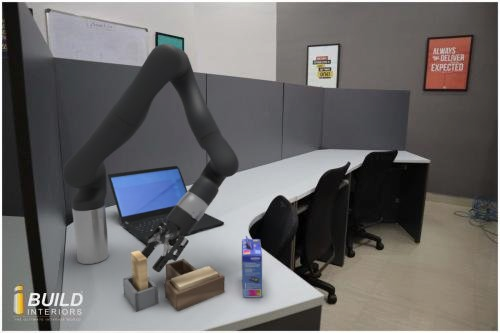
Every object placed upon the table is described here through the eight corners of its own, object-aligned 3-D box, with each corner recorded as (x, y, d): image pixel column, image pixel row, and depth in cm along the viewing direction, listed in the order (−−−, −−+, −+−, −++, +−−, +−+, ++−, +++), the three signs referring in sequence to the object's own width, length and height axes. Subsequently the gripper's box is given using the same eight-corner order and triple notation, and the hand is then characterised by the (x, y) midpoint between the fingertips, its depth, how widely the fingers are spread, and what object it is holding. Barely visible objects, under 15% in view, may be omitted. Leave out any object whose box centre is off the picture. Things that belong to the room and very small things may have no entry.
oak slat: (133, 294, 88) (130, 252, 86) (141, 292, 89) (138, 250, 87) (141, 304, 84) (138, 260, 81) (149, 302, 85) (146, 258, 83)
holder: (124, 294, 88) (123, 278, 87) (145, 287, 92) (144, 272, 91) (136, 311, 81) (135, 294, 80) (158, 303, 85) (157, 286, 84)
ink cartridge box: (241, 278, 97) (241, 230, 94) (260, 277, 97) (261, 230, 94) (241, 298, 87) (242, 246, 84) (262, 298, 87) (264, 246, 84)
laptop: (147, 248, 116) (144, 194, 112) (110, 218, 143) (106, 174, 139) (225, 225, 137) (225, 179, 133) (179, 203, 165) (178, 164, 161)
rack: (152, 283, 94) (151, 268, 93) (196, 268, 102) (195, 255, 101) (177, 311, 82) (177, 294, 81) (224, 292, 90) (224, 276, 89)
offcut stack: (170, 298, 87) (169, 279, 86) (209, 283, 94) (209, 265, 93) (179, 307, 83) (178, 287, 82) (219, 291, 90) (218, 273, 89)
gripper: (167, 198, 94) (128, 247, 89) (191, 211, 83) (148, 268, 78) (184, 212, 98) (148, 259, 94) (210, 227, 87) (170, 281, 83)
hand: (148, 263), depth 86 cm, fingers open, 8 cm apart
